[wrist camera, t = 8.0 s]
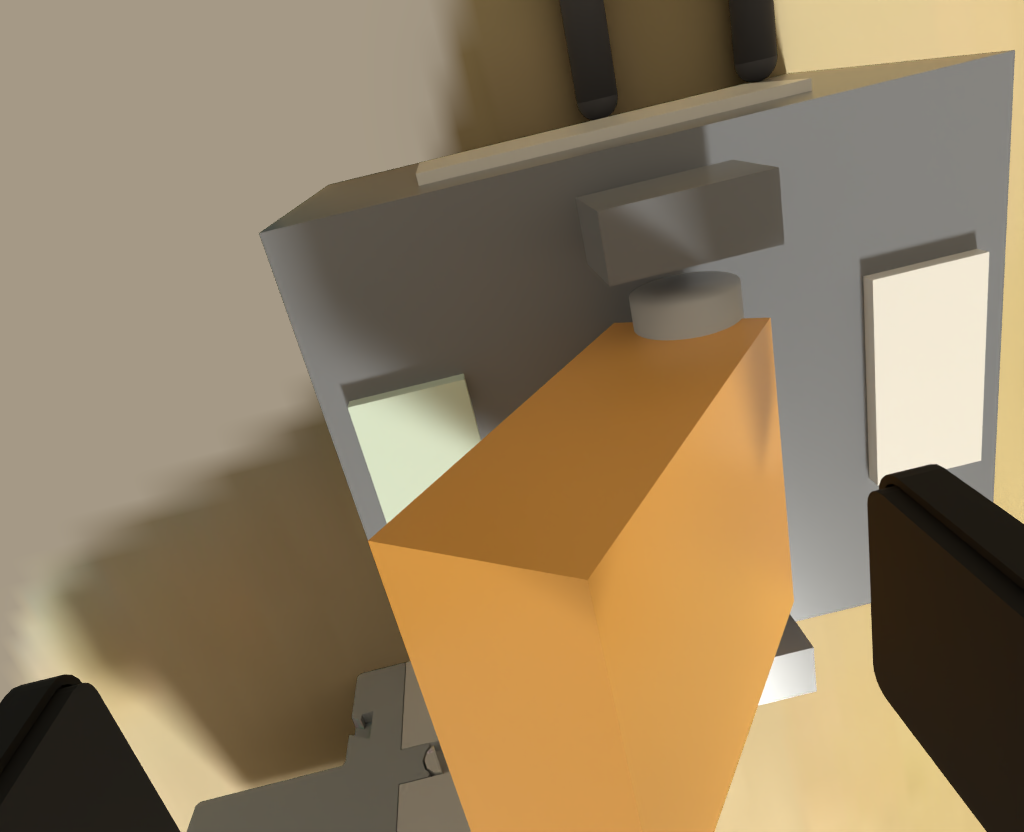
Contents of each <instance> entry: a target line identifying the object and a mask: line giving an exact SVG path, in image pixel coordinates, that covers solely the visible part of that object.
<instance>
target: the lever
mask: <svg viewBox="0 0 1024 832" xmlns="http://www.w3.org/2000/svg"><path fill="white" fill-rule="evenodd" d="M629 302H630V309H631V315H632V321H633V322H625V323H613V324H612V325H611V326H610V327H609V328H608V329H607V330H605V331H604V332H603V333H602V334H601V335H600V336H599V337H598V338H596V339H595V340H594V341H593V342H592V343H591V344H590V345H589V346H587V347H586V348H585V349H584V350H583V351H582V352H581V353H579V354H578V355H577V356H576V357H575V358H574V359H573V360H572V361H570V362H569V363H568V364H567V365H566V366H565V367H564V368H563V369H561V370H560V371H559V372H558V373H557V374H556V375H555V376H553V377H552V378H551V379H550V380H549V381H548V382H547V383H546V384H544V385H543V386H542V387H541V388H540V389H539V390H538V391H537V392H535V393H534V394H533V395H532V396H531V397H530V398H529V399H527V400H526V401H525V402H524V403H523V404H522V405H521V406H520V407H518V408H517V409H516V410H515V411H514V412H513V413H512V414H511V415H509V416H508V417H507V418H506V419H505V420H504V421H503V422H501V423H500V424H499V425H498V426H497V427H496V428H495V429H494V430H492V431H491V432H490V433H489V434H488V435H487V436H486V437H485V438H483V439H482V440H481V441H480V442H479V443H478V444H477V445H475V446H474V447H473V448H472V449H471V450H470V451H469V452H468V453H466V454H465V455H464V456H463V457H462V458H461V459H460V460H459V461H457V462H456V463H455V464H454V465H453V466H452V467H451V468H450V469H448V470H447V471H446V472H445V473H444V474H443V475H442V476H440V477H439V478H438V479H437V480H436V481H435V482H434V483H433V484H431V485H430V486H429V487H428V488H427V489H426V490H425V491H424V492H422V493H421V494H420V495H419V496H418V497H417V498H416V499H414V500H413V501H412V502H411V503H410V504H409V505H408V506H407V507H405V508H404V509H403V510H402V511H401V512H400V513H399V514H398V515H396V516H395V517H394V518H393V519H392V520H391V521H390V522H388V523H387V524H386V525H385V526H384V527H383V528H382V529H381V530H379V531H378V532H377V533H376V534H375V535H374V536H373V537H372V538H370V539H369V540H368V543H369V546H370V548H371V551H372V554H373V557H374V560H375V563H376V565H377V568H378V571H379V574H380V577H381V579H382V582H383V585H384V588H385V591H386V594H387V596H388V599H389V602H390V605H391V608H392V610H393V613H394V616H395V619H396V622H397V625H398V627H399V630H400V633H401V636H402V639H403V641H404V644H405V647H406V650H407V653H408V656H409V658H410V661H411V664H412V667H413V670H414V672H415V675H416V678H417V681H418V684H419V687H420V689H421V692H422V695H423V698H424V701H425V703H426V706H427V709H428V712H429V715H430V717H431V720H432V723H433V726H434V729H435V732H436V734H437V737H438V740H439V743H440V746H441V748H442V751H443V754H444V757H445V760H446V763H447V765H448V768H449V771H450V774H451V777H452V779H453V782H454V785H455V788H456V791H457V794H458V796H459V799H460V802H461V805H462V808H463V810H464V813H465V816H466V819H467V822H468V825H469V827H470V830H471V832H714V831H715V828H716V825H717V822H718V819H719V817H720V814H721V811H722V808H723V805H724V802H725V799H726V796H727V793H728V791H729V788H730V785H731V782H732V779H733V776H734V773H735V770H736V767H737V765H738V762H739V759H740V756H741V753H742V750H743V747H744V744H745V742H746V739H747V736H748V733H749V730H750V727H751V724H752V721H753V718H754V716H755V713H756V710H757V707H758V704H759V701H760V698H761V695H762V692H763V690H764V687H765V684H766V681H767V678H768V675H769V672H770V669H771V666H772V664H773V661H774V658H775V655H776V652H777V649H778V646H779V643H780V640H781V638H782V635H783V632H784V629H785V626H786V623H787V620H788V617H789V615H790V612H791V609H792V606H793V603H794V595H793V582H792V570H791V558H790V546H789V534H788V522H787V510H786V498H785V486H784V474H783V462H782V449H781V437H780V425H779V413H778V401H777V389H776V377H775V365H774V353H773V341H772V328H771V318H744V311H743V300H742V290H741V280H740V278H739V276H737V275H735V274H733V273H729V272H721V271H700V272H691V273H683V274H678V275H673V276H668V277H664V278H661V279H657V280H654V281H651V282H649V283H646V284H644V285H642V286H640V287H638V288H636V289H635V290H633V291H632V292H631V293H630V295H629Z"/></svg>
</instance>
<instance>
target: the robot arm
mask: <svg viewBox="0 0 1024 832" xmlns="http://www.w3.org/2000/svg"><path fill="white" fill-rule="evenodd" d="M867 510H868V537H869V564H870V591H871V618H872V645H873V666H874V672H875V676H876V679H877V682H878V684H879V687H880V689H881V691H882V693H883V694H884V696H885V697H886V699H887V700H888V702H889V703H890V704H891V706H892V707H893V708H894V710H895V711H896V712H897V714H898V715H899V716H900V718H901V719H902V720H903V722H904V723H905V724H906V726H907V727H908V728H909V730H910V731H911V732H912V734H913V735H914V736H915V737H916V739H917V740H918V741H919V743H920V744H921V745H922V747H923V748H924V749H925V751H926V752H927V753H928V755H929V756H930V757H931V759H932V760H933V761H934V763H935V764H936V765H937V767H938V768H939V769H940V771H941V772H942V773H943V774H944V776H945V777H946V778H947V780H948V781H949V782H950V784H951V785H952V786H953V788H954V789H955V790H956V792H957V793H958V794H959V796H960V797H961V798H962V800H963V801H964V802H965V804H966V805H967V806H968V808H969V809H970V810H971V811H972V813H973V814H974V815H975V817H976V818H977V819H978V821H979V822H980V823H981V825H982V826H983V827H984V829H985V830H986V831H987V832H1024V524H1023V523H1021V522H1020V521H1018V520H1017V519H1016V518H1014V517H1013V516H1011V515H1010V514H1009V513H1007V512H1006V511H1004V510H1003V509H1002V508H1000V507H999V506H997V505H996V504H994V503H993V502H992V501H990V500H989V499H987V498H986V497H985V496H983V495H982V494H980V493H979V492H978V491H976V490H975V489H973V488H972V487H971V486H969V485H968V484H966V483H965V482H963V481H962V480H961V479H959V478H958V477H956V476H955V475H954V474H952V473H951V472H949V471H948V470H947V469H945V468H944V467H942V466H940V465H938V464H929V465H925V466H921V467H917V468H913V469H908V470H904V471H900V472H896V473H892V474H888V475H885V476H884V477H883V478H882V479H881V481H880V484H879V490H875V491H872V492H871V493H870V494H869V496H868V501H867ZM0 832H180V830H179V829H178V827H177V825H176V823H175V822H174V820H173V818H172V817H171V815H170V813H169V812H168V810H167V808H166V806H165V805H164V803H163V801H162V800H161V798H160V796H159V795H158V793H157V791H156V790H155V788H154V786H153V784H152V783H151V781H150V779H149V778H148V776H147V774H146V773H145V771H144V769H143V767H142V766H141V764H140V762H139V761H138V759H137V757H136V756H135V754H134V752H133V750H132V749H131V747H130V745H129V744H128V742H127V740H126V739H125V737H124V735H123V733H122V732H121V730H120V728H119V727H118V725H117V723H116V722H115V720H114V718H113V717H112V715H111V713H110V711H109V710H108V708H107V706H106V705H105V703H104V701H103V700H102V698H101V696H100V694H99V693H98V691H97V690H96V689H95V687H94V686H92V685H91V684H89V683H82V682H81V681H80V680H79V679H78V678H76V677H75V676H73V675H61V676H57V677H53V678H48V679H44V680H40V681H36V682H32V683H28V684H24V685H20V686H18V687H15V688H13V689H12V690H11V691H10V692H9V693H8V694H7V695H6V696H5V697H4V699H3V700H2V701H1V703H0Z"/></svg>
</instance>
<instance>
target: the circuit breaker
mask: <svg viewBox="0 0 1024 832" xmlns="http://www.w3.org/2000/svg"><path fill="white" fill-rule="evenodd" d="M352 720H353V722H354V725H355V727H356V729H355V736H353V735H349V740H348V747H347V754H346V761H345V763H344V764H343V766H340V767H336V768H332V769H328V770H324V771H320V772H316V773H312V774H309V775H305V776H301V777H297V778H293V779H289V780H285V781H281V782H277V783H273V784H269V785H265V786H261V787H257V788H253V789H249V790H245V791H242V792H238V793H234V794H230V795H226V796H222V797H218V798H214V799H210V800H206V801H202V802H200V803H199V804H198V805H196V807H195V809H194V812H193V815H192V818H191V821H190V824H189V827H188V830H187V832H471V830H470V827H469V825H468V822H467V819H466V816H465V813H464V810H463V808H462V805H461V802H460V799H459V796H458V794H457V791H456V788H455V785H454V782H453V779H452V777H451V774H450V771H449V768H448V765H447V763H446V760H445V757H444V754H443V751H442V748H441V746H440V743H439V740H438V737H437V734H436V732H435V729H434V726H433V723H432V720H431V717H430V715H429V712H428V709H427V706H426V703H425V701H424V698H423V695H422V692H421V689H420V687H419V684H418V681H417V678H416V675H415V672H414V670H413V667H412V664H411V661H409V662H406V663H401V664H398V665H394V666H390V667H386V668H382V669H378V670H374V671H370V672H366V673H362V674H360V675H359V676H358V677H357V683H356V690H355V697H354V704H353V712H352Z"/></svg>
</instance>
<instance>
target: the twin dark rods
mask: <svg viewBox="0 0 1024 832" xmlns="http://www.w3.org/2000/svg"><path fill="white" fill-rule="evenodd" d="M559 1H560V7H561V13H562V19H563V25H564V30H565V36H566V42H567V48H568V54H569V60H570V66H571V71H572V77H573V83H574V89H575V95H576V101H577V105H578V108H579V110H580V112H581V113H582V115H584V116H585V117H586V118H588V119H590V120H597V119H601V118H605V117H608V116H609V115H611V113H612V112H613V111H614V109H615V107H616V105H617V100H618V95H617V88H616V81H615V74H614V68H613V61H612V54H611V48H610V41H609V34H608V28H607V21H606V14H605V8H604V1H603V0H559ZM729 11H730V22H731V33H732V44H733V55H734V66H735V70H736V73H737V74H738V76H739V77H740V78H741V79H743V80H744V81H747V82H752V83H754V82H759V81H762V80H764V79H766V78H767V77H768V76H769V75H770V74H771V73H772V71H773V70H774V68H775V66H776V62H777V45H776V31H775V16H774V2H773V0H729Z"/></svg>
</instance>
